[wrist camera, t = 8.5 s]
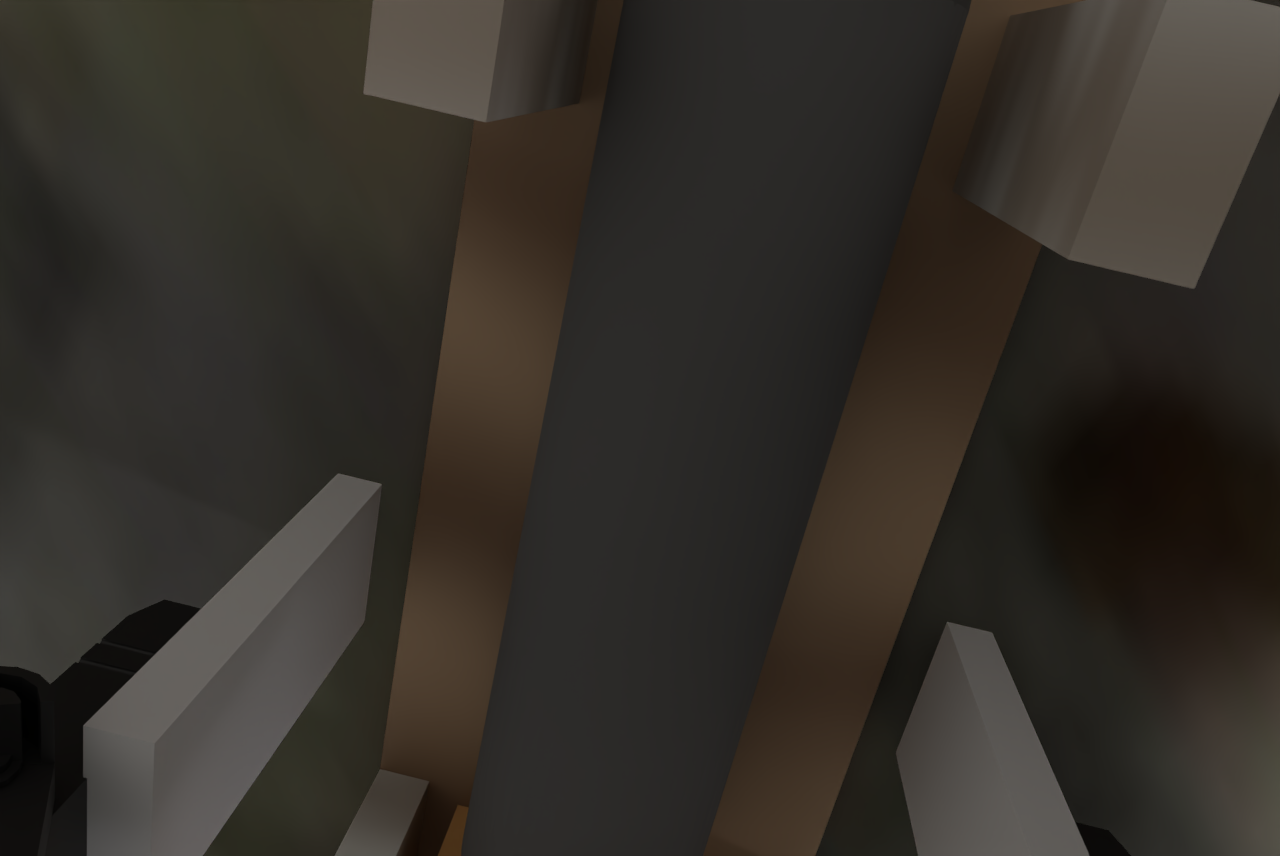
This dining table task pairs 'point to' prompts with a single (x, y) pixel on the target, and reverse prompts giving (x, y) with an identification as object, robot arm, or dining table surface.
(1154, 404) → the dining table surface
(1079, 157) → the wooden stand
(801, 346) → the grey handled block hammer
